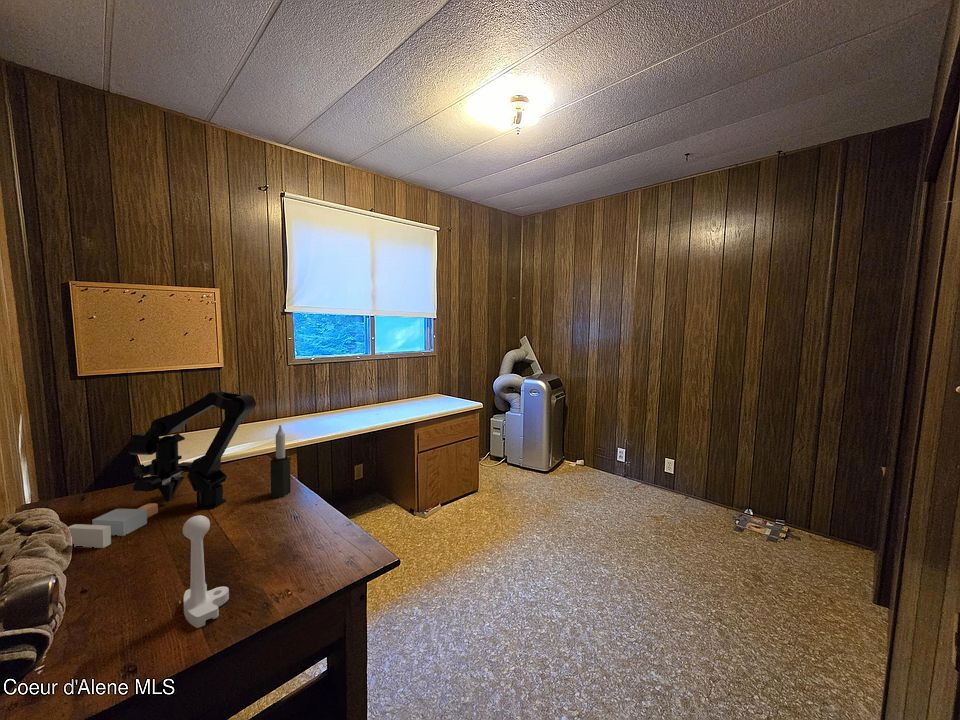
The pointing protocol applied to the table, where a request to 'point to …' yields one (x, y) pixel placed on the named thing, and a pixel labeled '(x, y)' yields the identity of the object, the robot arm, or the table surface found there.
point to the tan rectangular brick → (150, 509)
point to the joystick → (200, 578)
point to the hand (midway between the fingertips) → (168, 501)
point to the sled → (122, 520)
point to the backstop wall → (90, 535)
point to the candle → (280, 468)
